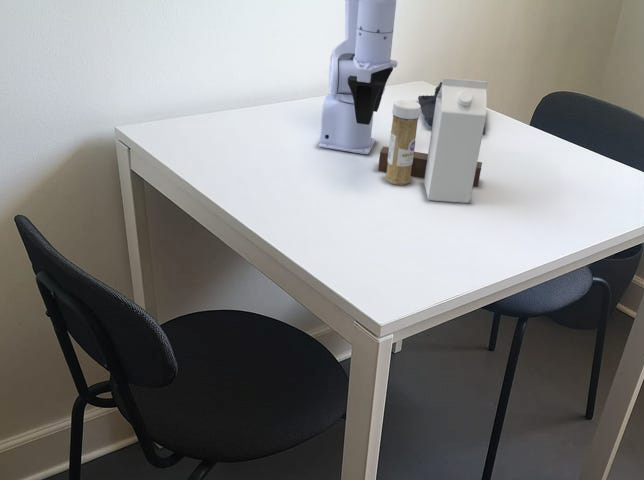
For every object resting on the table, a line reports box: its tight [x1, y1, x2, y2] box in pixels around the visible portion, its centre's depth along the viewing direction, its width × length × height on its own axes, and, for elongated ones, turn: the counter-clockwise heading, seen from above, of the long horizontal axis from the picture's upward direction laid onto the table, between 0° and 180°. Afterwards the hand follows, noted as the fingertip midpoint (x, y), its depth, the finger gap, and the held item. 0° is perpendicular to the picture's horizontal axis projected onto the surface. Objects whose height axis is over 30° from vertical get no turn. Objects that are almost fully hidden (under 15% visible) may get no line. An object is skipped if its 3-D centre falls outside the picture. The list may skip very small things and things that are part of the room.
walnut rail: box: [377, 146, 483, 188], centre depth 128 cm, size 18×3×4 cm, turn 80°
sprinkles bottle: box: [384, 99, 421, 186], centre depth 122 cm, size 5×5×14 cm
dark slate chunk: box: [417, 81, 486, 136], centre depth 155 cm, size 15×22×5 cm
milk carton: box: [423, 77, 489, 204], centre depth 118 cm, size 7×7×19 cm
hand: (367, 116), depth 120 cm, fingers open, 7 cm apart
